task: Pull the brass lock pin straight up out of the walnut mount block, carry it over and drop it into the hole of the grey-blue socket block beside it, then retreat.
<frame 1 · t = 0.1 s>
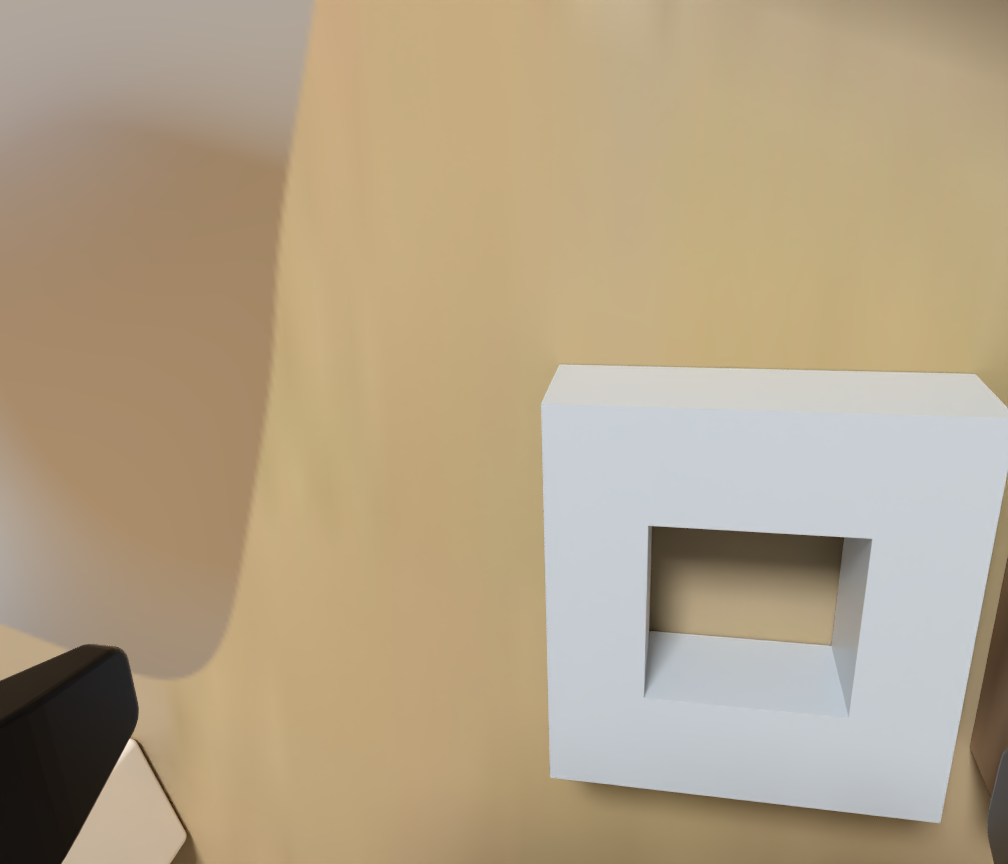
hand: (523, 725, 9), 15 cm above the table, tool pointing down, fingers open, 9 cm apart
jar: (83, 792, 33), on the table
socket: (743, 561, 24), on the table
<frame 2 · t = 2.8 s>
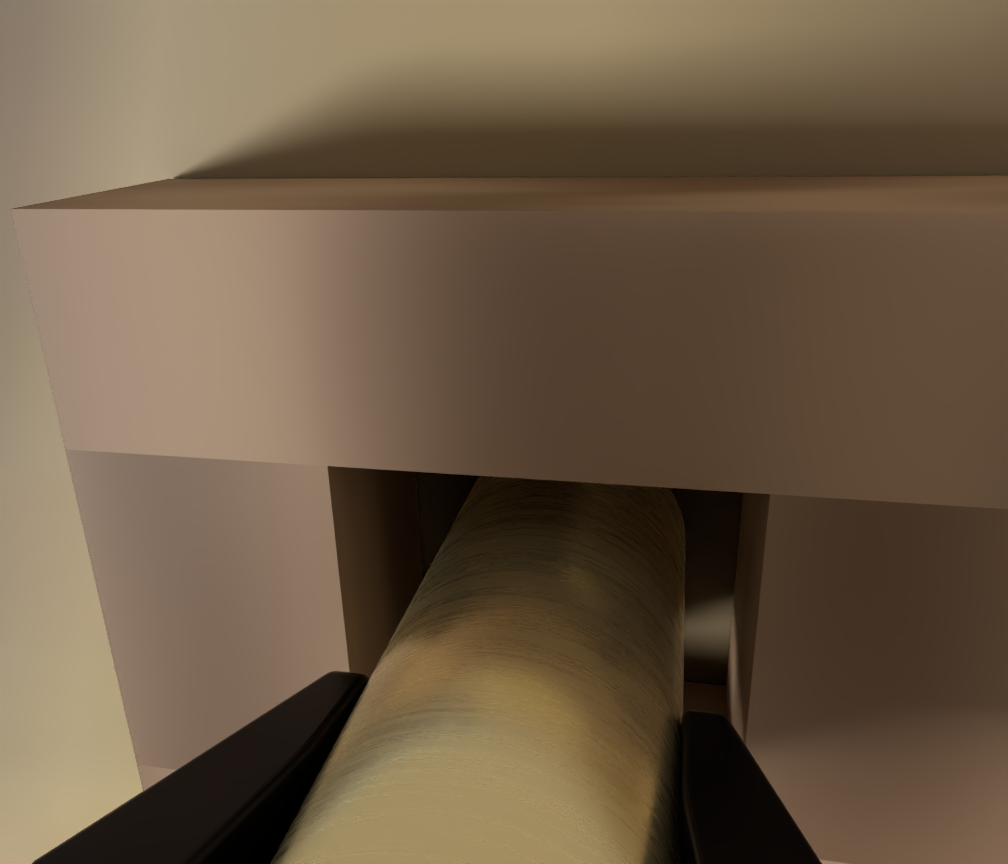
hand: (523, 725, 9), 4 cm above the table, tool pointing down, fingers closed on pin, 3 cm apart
mount: (573, 537, 13), on the table
pin: (514, 757, 8), in the mount, touching gripper
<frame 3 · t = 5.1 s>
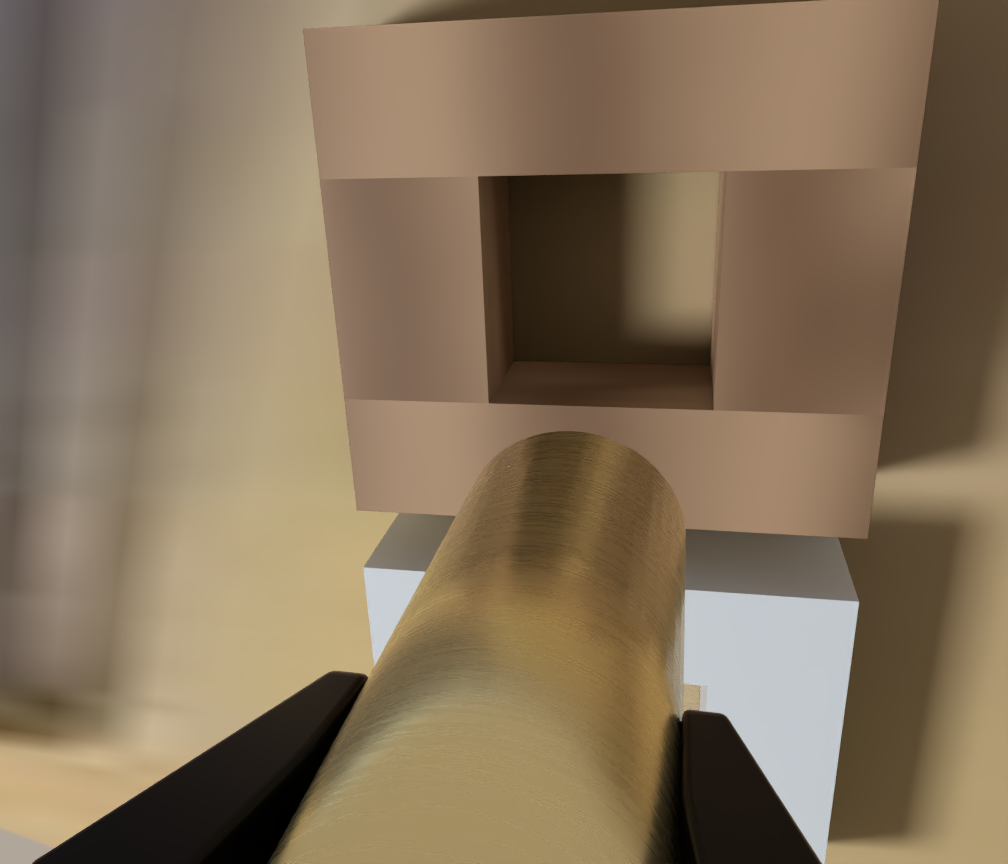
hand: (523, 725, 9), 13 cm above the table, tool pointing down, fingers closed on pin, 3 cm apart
mount: (610, 265, 20), on the table
pin: (514, 754, 8), point 13 cm above the table, touching gripper
socket: (607, 682, 24), on the table
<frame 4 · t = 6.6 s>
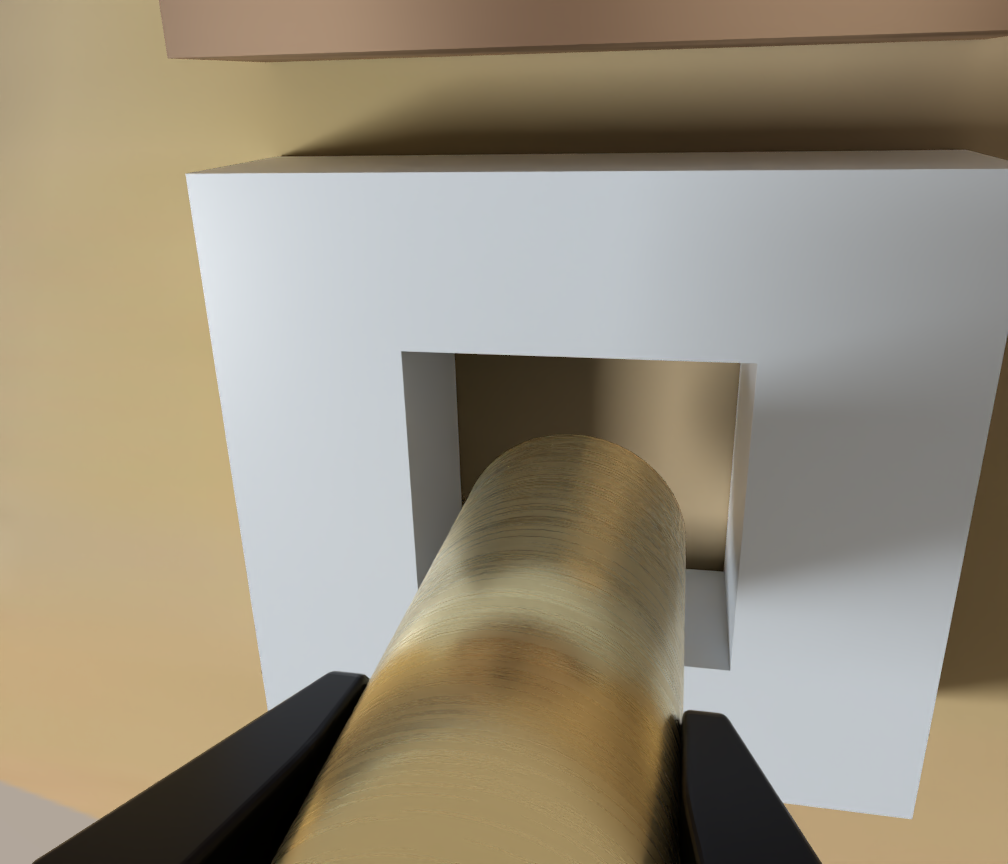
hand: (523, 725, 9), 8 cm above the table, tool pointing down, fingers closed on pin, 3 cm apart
pin: (514, 759, 8), point 8 cm above the table, touching gripper
socket: (591, 441, 16), on the table
when the fingers open (6 cm above the table, at t = 7.6 s): pin drops 2 cm, resting in socket.
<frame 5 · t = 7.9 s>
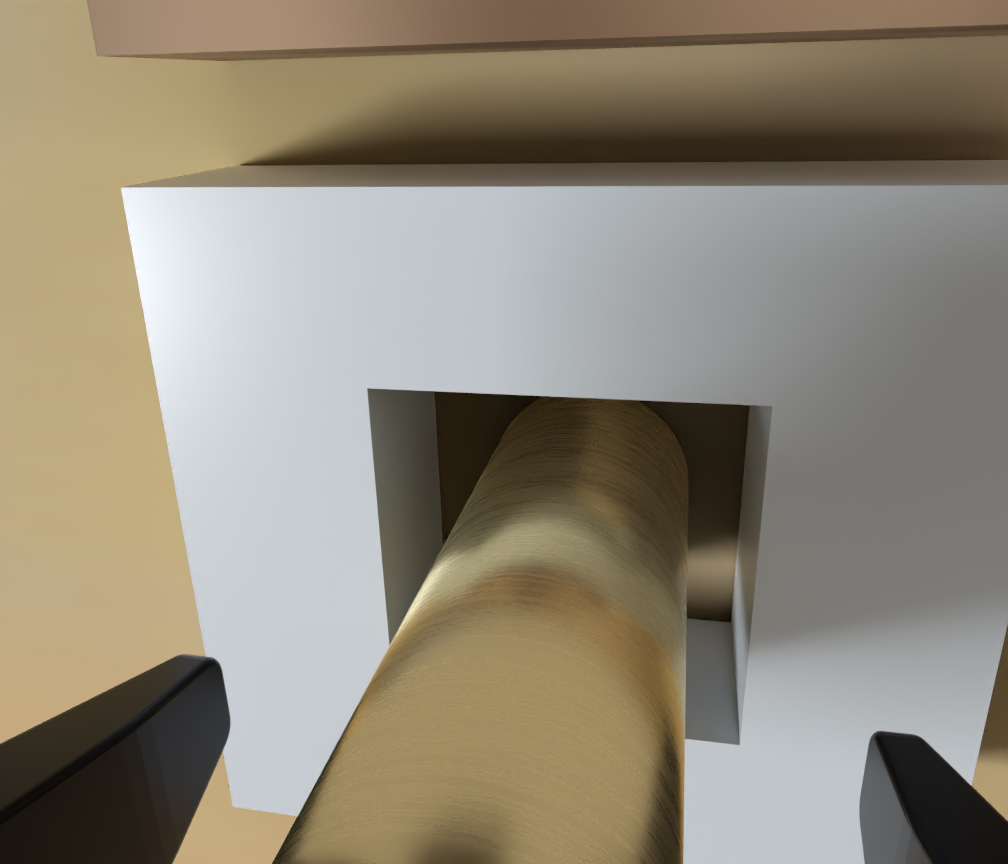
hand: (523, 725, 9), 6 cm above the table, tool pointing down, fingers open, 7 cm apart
pin: (547, 638, 10), in the socket
socket: (585, 479, 14), on the table
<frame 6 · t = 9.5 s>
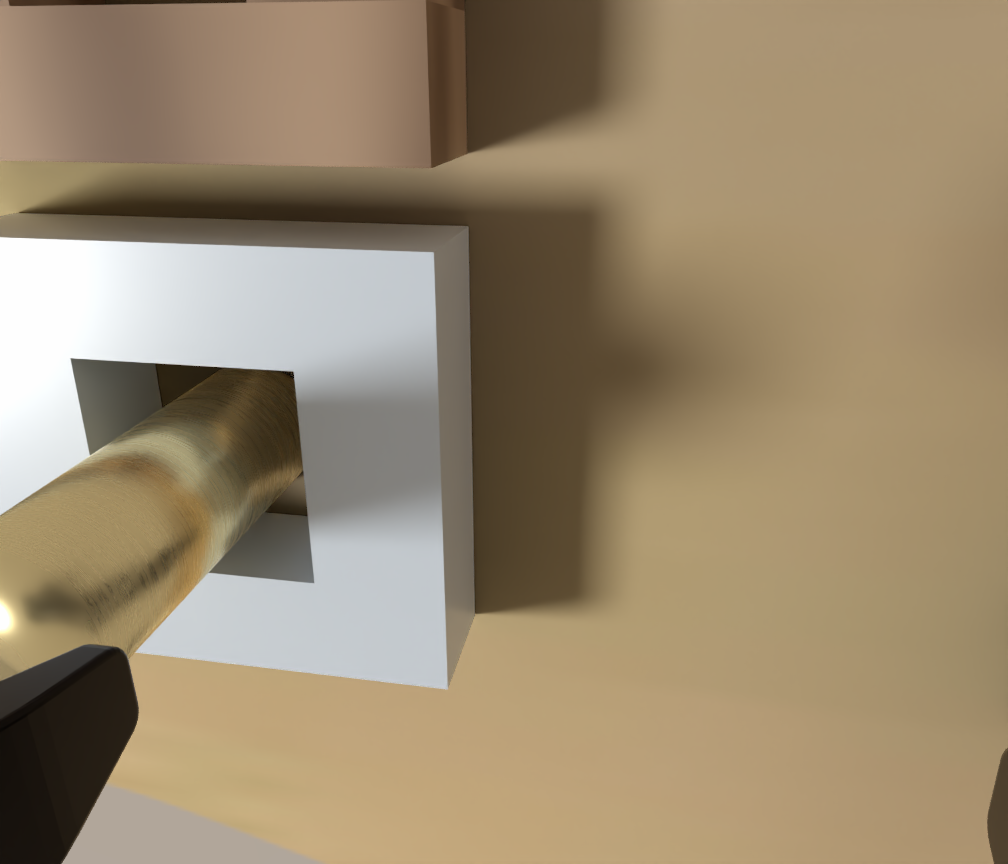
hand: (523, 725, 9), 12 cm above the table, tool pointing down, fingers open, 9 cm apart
pin: (162, 505, 18), in the socket
socket: (256, 423, 22), on the table
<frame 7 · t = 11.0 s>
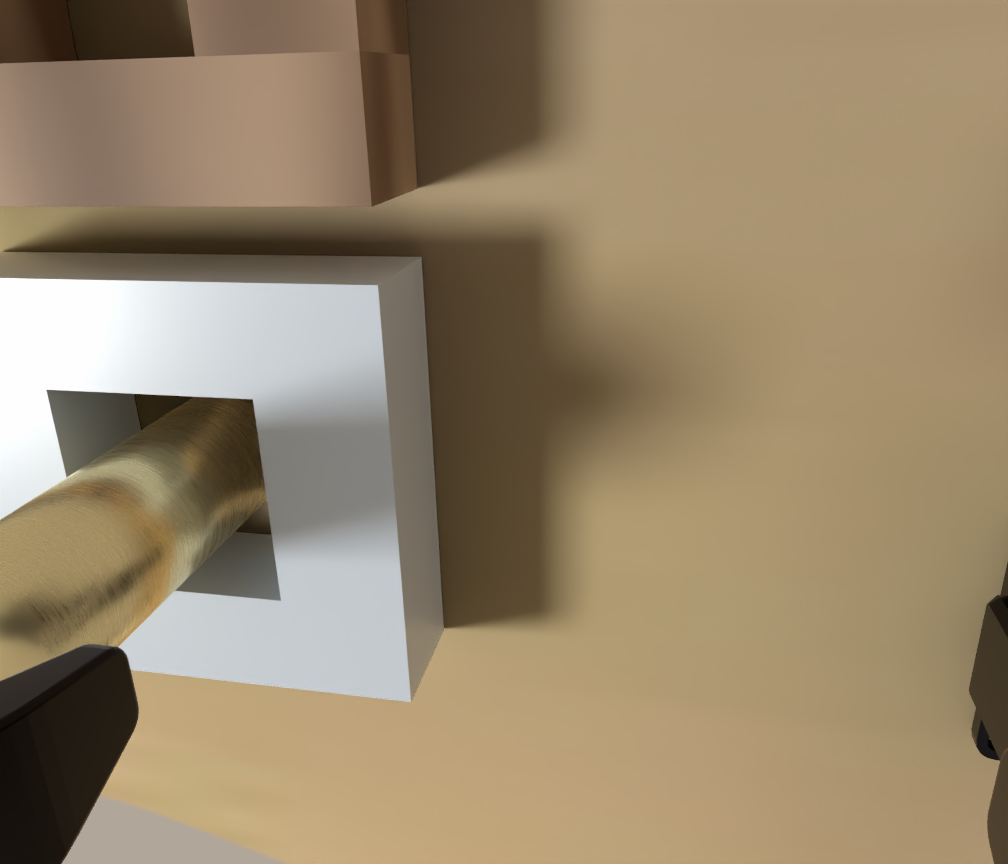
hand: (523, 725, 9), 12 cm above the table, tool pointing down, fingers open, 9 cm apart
pin: (130, 528, 19), in the socket
socket: (229, 447, 23), on the table
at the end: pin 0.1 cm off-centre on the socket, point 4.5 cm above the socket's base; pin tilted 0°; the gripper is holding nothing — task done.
